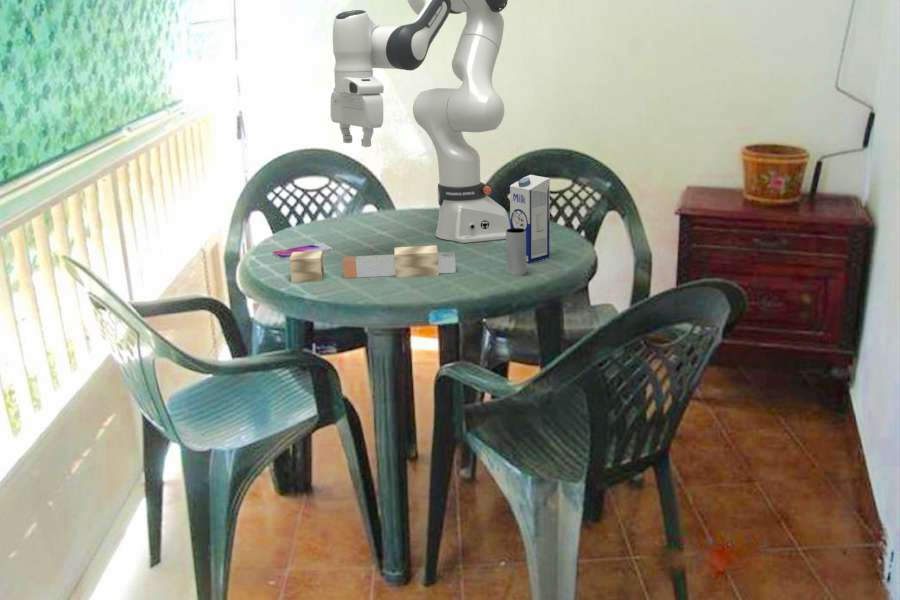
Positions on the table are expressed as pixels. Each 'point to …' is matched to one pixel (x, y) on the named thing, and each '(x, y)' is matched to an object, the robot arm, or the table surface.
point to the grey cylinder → (516, 251)
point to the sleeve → (416, 261)
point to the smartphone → (303, 250)
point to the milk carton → (532, 214)
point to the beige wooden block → (306, 266)
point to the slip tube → (388, 265)
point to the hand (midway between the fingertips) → (356, 144)
